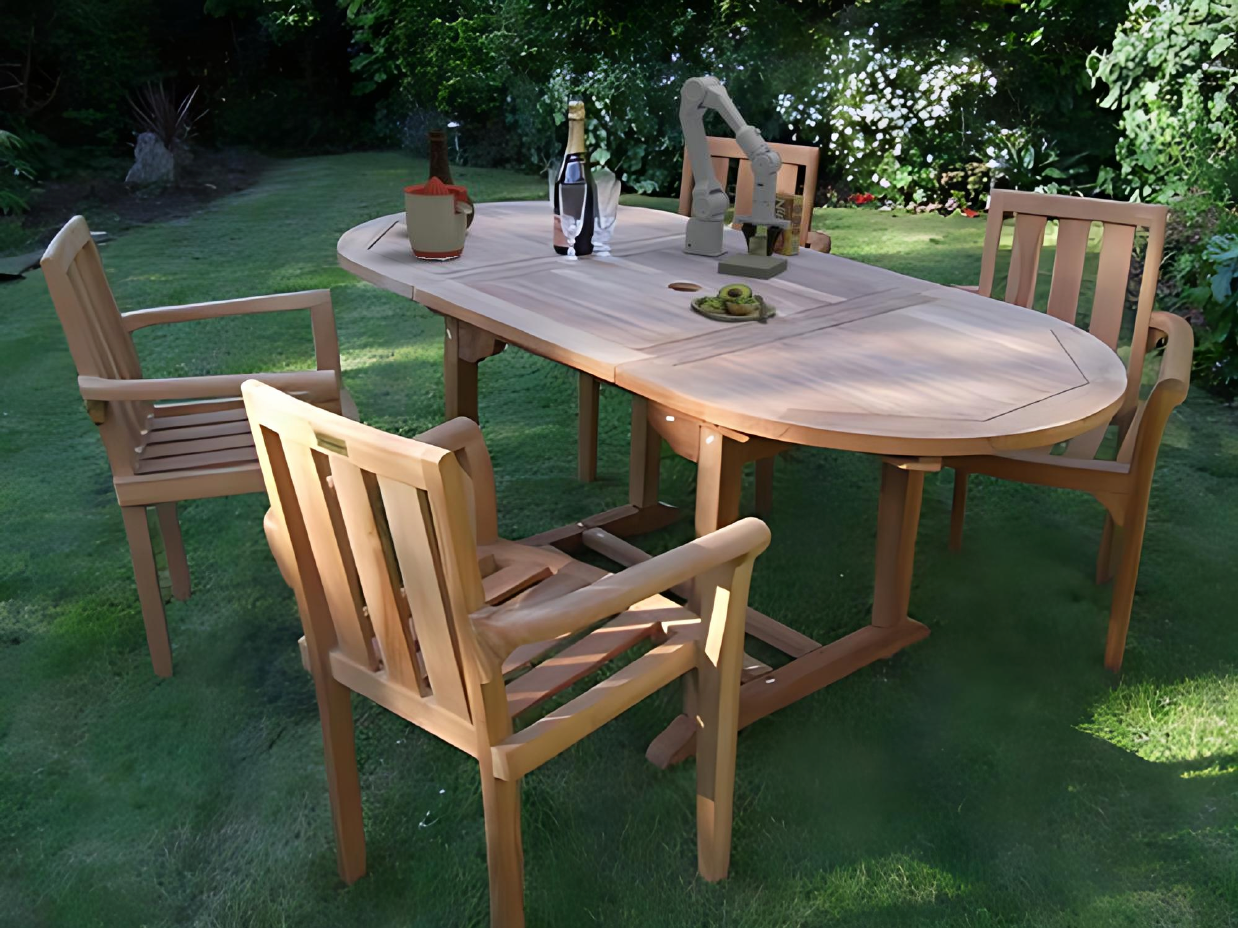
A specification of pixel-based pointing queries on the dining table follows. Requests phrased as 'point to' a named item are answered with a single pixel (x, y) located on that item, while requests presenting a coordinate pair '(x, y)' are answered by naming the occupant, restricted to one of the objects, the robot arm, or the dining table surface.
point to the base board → (752, 266)
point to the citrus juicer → (436, 219)
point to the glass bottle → (443, 164)
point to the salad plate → (734, 305)
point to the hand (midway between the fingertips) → (760, 254)
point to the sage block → (758, 245)
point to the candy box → (792, 211)
